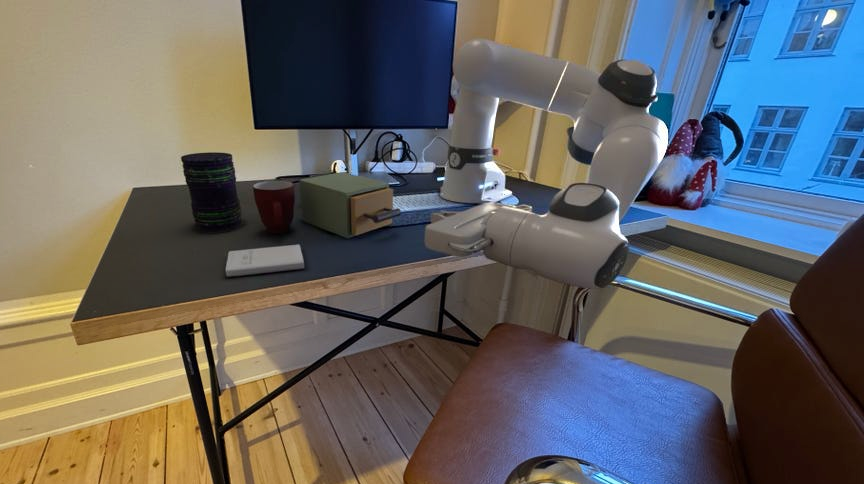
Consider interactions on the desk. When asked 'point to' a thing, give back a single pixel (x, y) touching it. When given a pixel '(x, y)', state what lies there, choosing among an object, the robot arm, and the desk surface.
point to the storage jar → (212, 191)
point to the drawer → (371, 210)
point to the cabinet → (333, 199)
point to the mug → (275, 204)
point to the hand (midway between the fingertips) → (435, 215)
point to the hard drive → (264, 260)
